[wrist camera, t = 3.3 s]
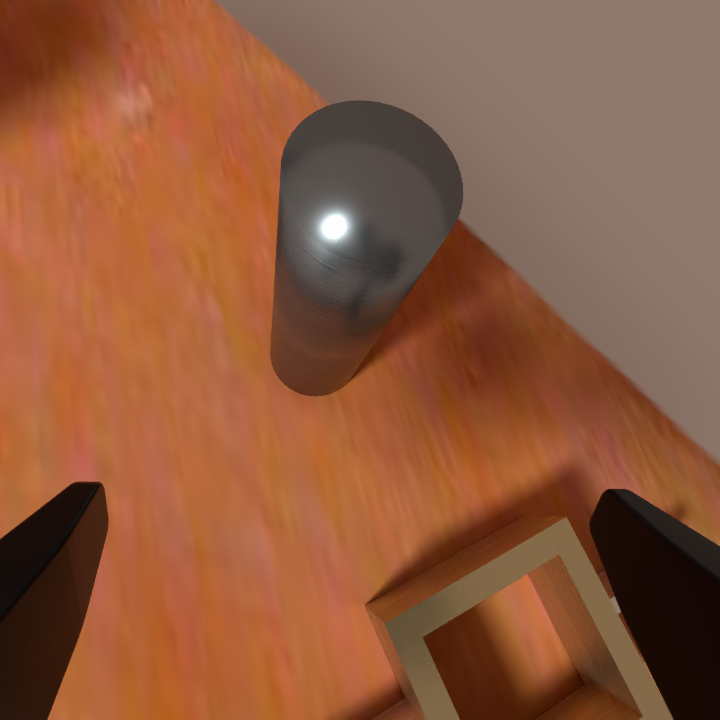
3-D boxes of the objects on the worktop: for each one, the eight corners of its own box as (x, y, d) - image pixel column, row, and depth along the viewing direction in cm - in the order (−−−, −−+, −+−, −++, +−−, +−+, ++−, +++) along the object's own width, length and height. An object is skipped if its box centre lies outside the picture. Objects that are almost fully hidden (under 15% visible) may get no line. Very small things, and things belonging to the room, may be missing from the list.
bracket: (309, 920, 18) (320, 1015, 14) (221, 686, 19) (213, 723, 16) (697, 633, 23) (771, 654, 20) (606, 468, 24) (660, 461, 21)
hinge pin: (291, 410, 22) (329, 288, 10) (256, 330, 23) (251, 124, 11) (372, 375, 23) (494, 228, 11) (336, 300, 24) (413, 83, 12)
